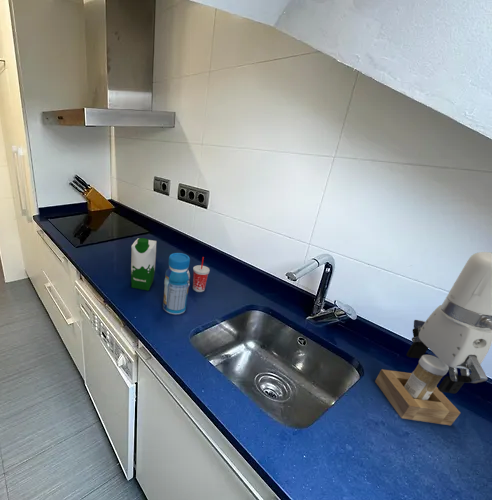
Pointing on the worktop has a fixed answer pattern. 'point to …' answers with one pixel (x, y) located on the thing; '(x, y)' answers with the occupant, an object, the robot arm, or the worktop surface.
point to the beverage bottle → (176, 283)
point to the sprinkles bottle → (426, 377)
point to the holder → (415, 400)
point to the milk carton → (143, 263)
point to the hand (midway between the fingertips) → (428, 373)
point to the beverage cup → (200, 277)
